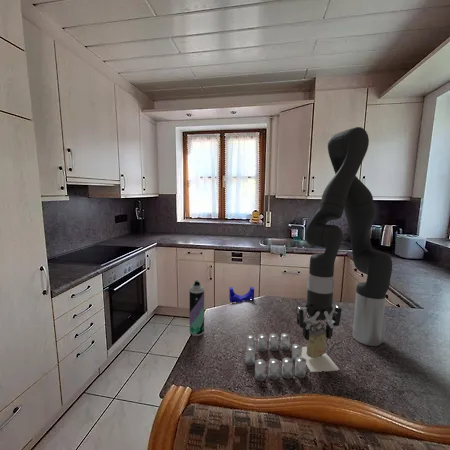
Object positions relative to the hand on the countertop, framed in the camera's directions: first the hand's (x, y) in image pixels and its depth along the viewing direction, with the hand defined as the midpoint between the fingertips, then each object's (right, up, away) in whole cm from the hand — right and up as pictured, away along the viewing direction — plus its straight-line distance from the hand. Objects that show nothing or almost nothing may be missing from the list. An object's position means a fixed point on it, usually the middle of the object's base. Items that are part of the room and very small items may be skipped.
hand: (317, 338), depth 80 cm
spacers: (-14, -7, -1) cm, 16 cm away
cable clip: (-21, -2, +45) cm, 50 cm away
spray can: (-40, -5, +15) cm, 43 cm away
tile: (0, -7, +1) cm, 7 cm away
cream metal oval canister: (0, -5, +1) cm, 6 cm away
